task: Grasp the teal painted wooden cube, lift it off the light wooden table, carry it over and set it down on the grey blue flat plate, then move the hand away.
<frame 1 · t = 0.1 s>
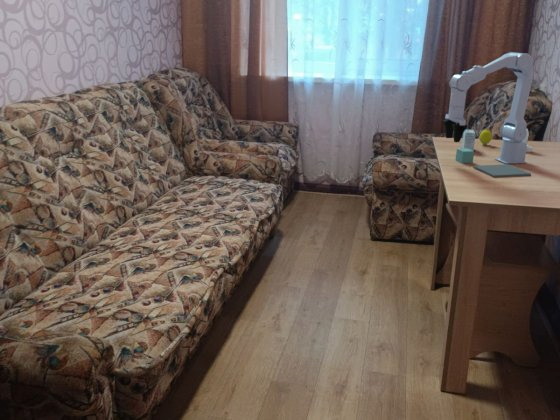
hand: (452, 139, 216), 10 cm above the table, tool pointing down, fingers open, 7 cm apart
cable organizer: (518, 150, 246), on the table
grey blue flat plate: (501, 171, 209), on the table
fruit: (484, 145, 254), on the table
cube: (463, 161, 224), on the table
medicine box: (467, 150, 244), on the table
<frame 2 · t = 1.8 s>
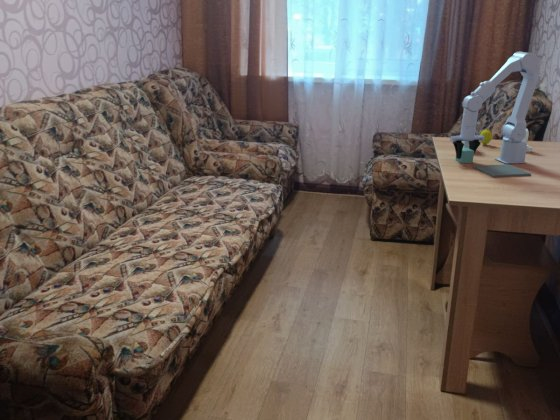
hand: (464, 158, 223), 1 cm above the table, tool pointing down, fingers closed on cube, 5 cm apart
cube: (463, 161, 224), on the table, touching gripper
everything else where it was.
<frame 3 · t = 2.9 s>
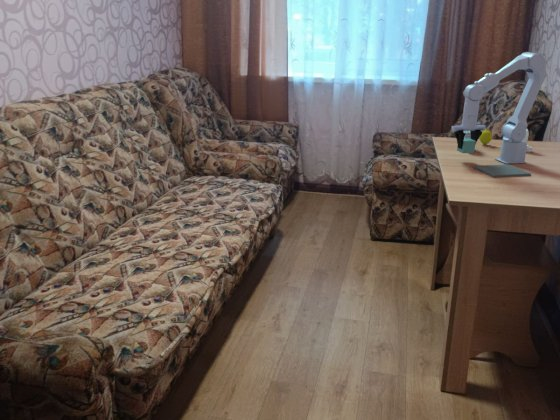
hand: (465, 148, 222), 6 cm above the table, tool pointing down, fingers closed on cube, 5 cm apart
cube: (465, 151, 222), point 4 cm above the table, touching gripper
everything else where it was.
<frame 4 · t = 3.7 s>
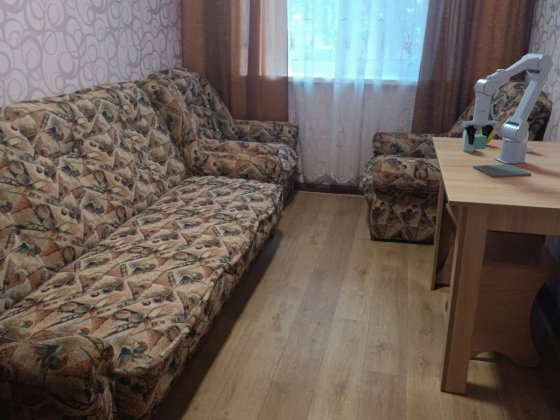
hand: (476, 144, 217), 8 cm above the table, tool pointing down, fingers closed on cube, 5 cm apart
cube: (476, 147, 217), point 7 cm above the table, touching gripper
everything else where it was.
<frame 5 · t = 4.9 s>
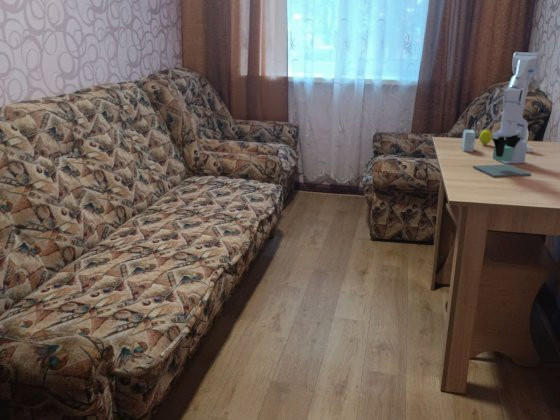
hand: (503, 155, 207), 6 cm above the table, tool pointing down, fingers closed on cube, 5 cm apart
cube: (502, 159, 208), point 5 cm above the table, touching gripper
everything else where it was.
when the fingers open (3 cm above the table, at t = 5.9 s): cube stays where it is, resting on grey blue flat plate.
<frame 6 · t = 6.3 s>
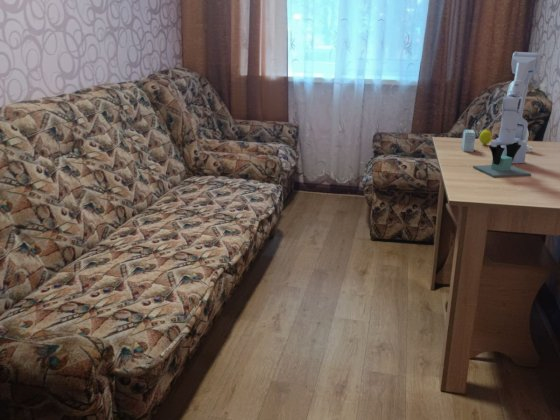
hand: (502, 163, 208), 3 cm above the table, tool pointing down, fingers open, 7 cm apart
cube: (500, 169, 209), point 1 cm above the table, touching grey blue flat plate
everything else where it was.
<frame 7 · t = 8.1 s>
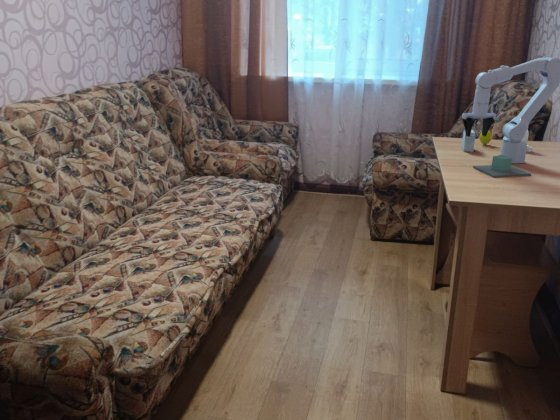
hand: (475, 135, 222), 10 cm above the table, tool pointing down, fingers open, 7 cm apart
nothing on the table moved.
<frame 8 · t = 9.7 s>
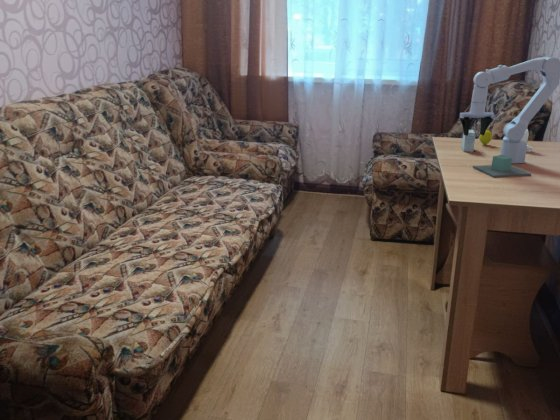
hand: (473, 134, 224), 10 cm above the table, tool pointing down, fingers open, 7 cm apart
nothing on the table moved.
at the end: cube inside the target area on the grey blue flat plate (0.4 cm from its centre), point 0.8 cm above the grey blue flat plate's base; cube tilted 0°; the gripper is holding nothing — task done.
